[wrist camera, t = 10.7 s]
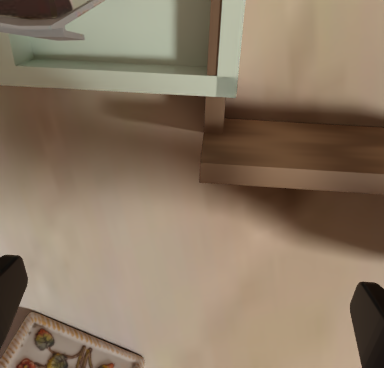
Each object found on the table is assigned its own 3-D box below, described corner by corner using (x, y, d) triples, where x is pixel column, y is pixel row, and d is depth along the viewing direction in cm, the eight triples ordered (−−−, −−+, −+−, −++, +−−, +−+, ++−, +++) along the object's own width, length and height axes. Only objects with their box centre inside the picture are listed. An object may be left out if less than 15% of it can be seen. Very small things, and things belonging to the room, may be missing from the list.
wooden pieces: (572, -153, 14) (782, -233, 9) (443, 146, 20) (518, 203, 15) (220, -160, 14) (220, -238, 9) (204, 133, 21) (199, 182, 16)
